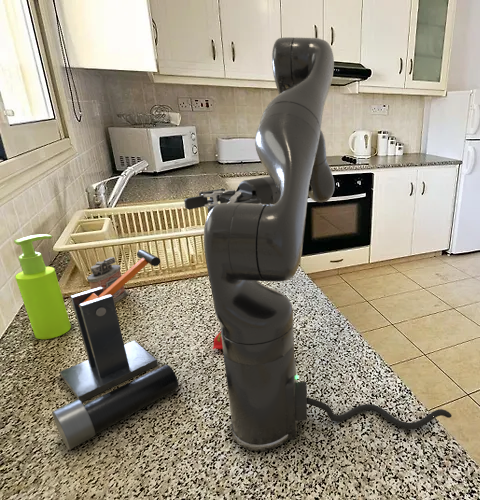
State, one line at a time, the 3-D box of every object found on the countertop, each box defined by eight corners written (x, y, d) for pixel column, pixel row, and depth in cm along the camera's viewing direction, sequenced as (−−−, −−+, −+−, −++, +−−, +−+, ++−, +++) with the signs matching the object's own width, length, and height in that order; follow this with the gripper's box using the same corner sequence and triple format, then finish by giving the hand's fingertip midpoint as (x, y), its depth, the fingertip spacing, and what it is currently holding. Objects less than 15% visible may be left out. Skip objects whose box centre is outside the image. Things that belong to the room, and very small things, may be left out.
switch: (149, 255, 68) (140, 246, 66) (163, 263, 65) (154, 254, 63) (86, 310, 62) (74, 302, 60) (98, 322, 59) (86, 314, 57)
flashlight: (165, 379, 63) (159, 352, 61) (182, 395, 60) (177, 366, 58) (59, 435, 52) (48, 404, 50) (73, 458, 49) (62, 425, 47)
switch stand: (135, 345, 72) (120, 275, 67) (157, 365, 67) (143, 291, 61) (61, 377, 63) (36, 300, 58) (80, 403, 58) (55, 321, 53)
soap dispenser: (82, 326, 77) (56, 235, 70) (42, 342, 72) (10, 246, 65) (68, 318, 80) (43, 229, 73) (29, 333, 75) (-2, 239, 68)
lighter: (103, 309, 84) (93, 269, 80) (90, 308, 84) (80, 267, 81) (130, 293, 91) (121, 255, 88) (118, 291, 92) (109, 254, 88)
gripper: (243, 173, 87) (175, 183, 75) (284, 182, 78) (215, 195, 67) (245, 205, 89) (180, 219, 78) (285, 216, 81) (220, 234, 69)
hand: (197, 208), depth 72 cm, fingers open, 8 cm apart
